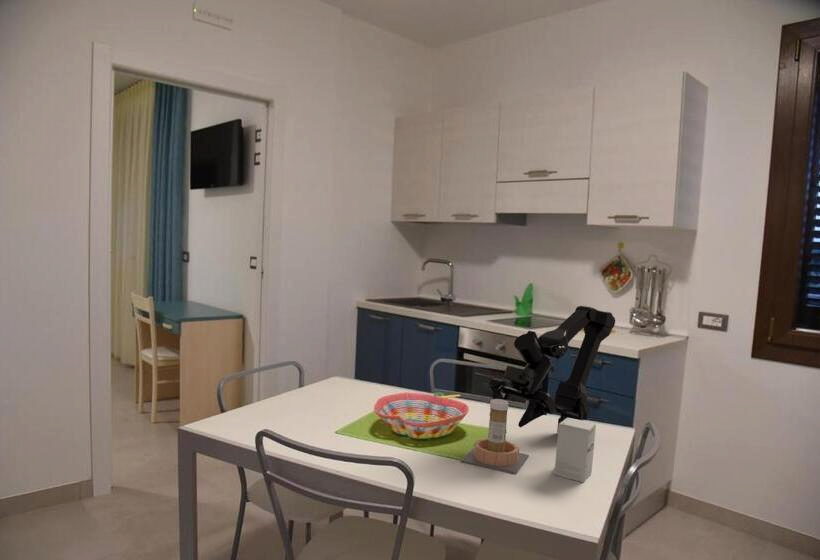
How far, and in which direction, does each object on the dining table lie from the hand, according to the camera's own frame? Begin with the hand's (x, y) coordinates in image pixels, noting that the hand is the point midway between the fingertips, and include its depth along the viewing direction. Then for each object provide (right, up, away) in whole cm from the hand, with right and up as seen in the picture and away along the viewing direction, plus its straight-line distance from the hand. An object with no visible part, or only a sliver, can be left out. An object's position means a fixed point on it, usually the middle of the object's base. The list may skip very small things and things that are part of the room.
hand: (504, 421), depth 147 cm
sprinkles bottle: (-2, -8, -1) cm, 8 cm away
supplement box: (+15, -11, -8) cm, 20 cm away
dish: (-2, -9, -1) cm, 10 cm away
